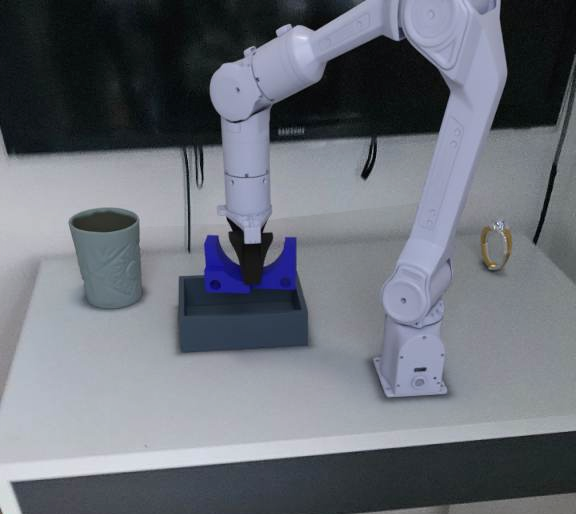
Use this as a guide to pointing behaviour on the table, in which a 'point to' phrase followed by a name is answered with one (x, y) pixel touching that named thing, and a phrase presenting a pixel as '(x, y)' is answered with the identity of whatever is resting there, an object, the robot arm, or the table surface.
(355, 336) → the table surface
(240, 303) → the desk bin
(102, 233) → the embossed grey cup
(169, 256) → the table surface
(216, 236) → the blue cradle bracket
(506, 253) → the ring
